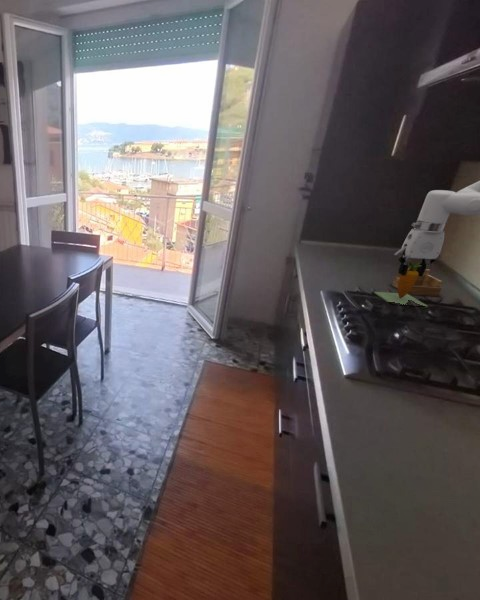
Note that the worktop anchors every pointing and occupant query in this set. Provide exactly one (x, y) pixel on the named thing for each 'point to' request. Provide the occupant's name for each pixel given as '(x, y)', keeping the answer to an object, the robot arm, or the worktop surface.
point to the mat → (397, 298)
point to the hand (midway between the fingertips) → (410, 274)
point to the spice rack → (422, 284)
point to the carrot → (408, 280)
